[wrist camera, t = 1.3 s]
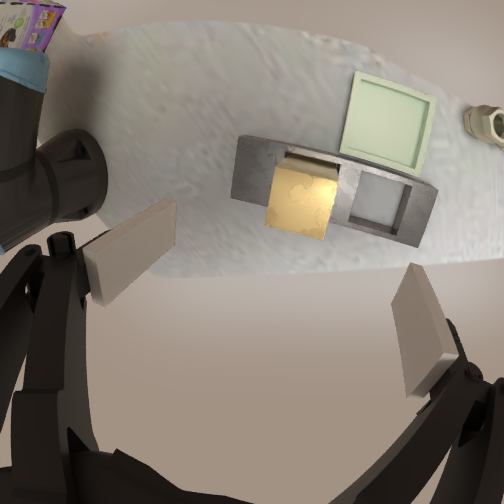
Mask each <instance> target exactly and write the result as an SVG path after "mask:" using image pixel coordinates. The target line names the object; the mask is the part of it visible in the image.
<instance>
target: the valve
mask: <svg viewBox="0 0 504 504" xmlns="http://www.w3.org/2000/svg"><path fill="white" fill-rule="evenodd" d="M463 120H464V126H465V131H466V132H468V133H469V134H471V135H472V136H474V137H475V138H476V139H480V140H481V141H483V142H485V143H489V144H493V143H497V146H498V147H499V148H500V149H501V150H502V151H504V110H503V109H501V108H500V107H490V106H488V105H481V106H478V107H472V108H470V109H469V110H468V111H466V112H465V113H464V114H463Z"/></svg>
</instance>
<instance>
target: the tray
mask: <svg viewBox="0 0 504 504" xmlns="http://www.w3.org/2000/svg"><path fill="white" fill-rule="evenodd" d="M436 101H437V99H436V98H434V97H431V96H429V95H426V94H424V93H422V92H419V91H416V90H414V89H411V88H409V87H406V86H403V85H400V84H397V83H394V82H392V81H389V80H385V79H382V78H379V77H376V76H372V75H369V74H366V73H362V72H358V71H355V73H354V77H353V82H352V88H351V94H350V99H349V104H348V109H347V115H346V120H345V125H344V129H343V134H342V139H341V144H340V148H339V152H340V153H343V154H347V155H351V156H354V157H358V158H361V159H365V160H368V161H371V162H374V163H378V164H381V165H384V166H387V167H390V168H393V169H396V170H399V171H402V172H405V173H408V174H411V175H413V176H416V177H419V176H420V172H421V169H422V165H423V161H424V157H425V153H426V149H427V145H428V141H429V137H430V132H431V127H432V123H433V118H434V112H435V107H436Z"/></svg>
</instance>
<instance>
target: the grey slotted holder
mask: <svg viewBox="0 0 504 504" xmlns="http://www.w3.org/2000/svg"><path fill="white" fill-rule="evenodd" d="M288 152H293V153H297V154H302V155H306V156H310V157H315V158H319V159H323V160H327V161H331V162H334V163H338V164H340V165H339V169H338V173H337V174H338V181H339V183H338V187H337V191H336V195H335V199H334V203H333V206H332V210H331V214H330V218H329V221H328V222H330V223H334V224H338V225H341V226H345V227H349V228H352V229H356V230H359V231H363V232H366V233H370V234H373V235H377V236H380V237H383V238H387V239H390V240H393V241H397V242H400V243H403V244H406V245H410V246H413V247H416V248H418V246H419V244H420V241H421V239H422V236H423V234H424V231H425V228H426V226H427V223H428V220H429V217H430V215H431V212H432V209H433V206H434V203H435V200H436V197H437V194H438V190H437V189H436V188H435V187H433V186H432V185H430V184H427V183H425V182H422V181H419V180H417V179H414V178H411V177H408V176H405V175H403V174H400V173H397V172H394V171H391V170H388V169H384V168H381V167H378V166H375V165H372V164H368V163H365V162H362V161H358V160H355V159H351V158H348V157H344V156H340V155H336V154H333V153H329V152H325V151H321V150H317V149H312V148H308V147H304V146H299V145H295V144H290V143H285V142H280V141H275V140H270V139H265V138H259V137H253V136H247V135H244V136H239V138H238V145H237V152H236V159H235V167H234V174H233V181H232V189H231V196H230V198H232V199H237V200H241V201H246V202H250V203H254V204H259V205H263V206H267V207H268V204H269V198H270V193H271V187H272V182H273V176H274V171H275V167H276V166H277V165H278V164H279V163H280V162H282V161H283V160H284V159H285V158H286V157H287V156H288ZM362 170H363V171H367V172H370V173H373V174H376V175H380V176H383V177H386V178H389V179H392V180H395V181H398V182H401V183H404V184H406V186H405V189H404V193H403V196H402V199H401V203H400V206H399V209H398V212H397V215H396V218H395V221H394V224H393V227H392V228H391V227H388V226H385V225H382V224H378V223H375V222H371V221H368V220H365V219H361V218H358V217H354V216H351V215H350V212H351V209H352V205H353V202H354V198H355V194H356V191H357V187H358V183H359V179H360V175H361V172H362Z"/></svg>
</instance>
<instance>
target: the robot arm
mask: <svg viewBox="0 0 504 504" xmlns="http://www.w3.org/2000/svg"><path fill="white" fill-rule="evenodd" d="M49 67H50V60H49V57H48V56H47V55H46V54H45V53H43V52H39V51H33V50H26V49H17V48H7V47H0V255H4V254H5V253H6V252H7V251H9V250H10V249H12V248H13V247H15V246H16V245H18V244H19V243H21V242H23V241H24V240H26V239H27V238H29V237H31V236H32V235H34V234H36V233H37V232H39V231H41V230H42V229H44V228H45V227H47V226H49V225H51V224H53V223H60V222H69V221H79V220H83V219H85V218H87V217H89V216H91V215H93V214H94V213H96V212H97V211H98V210H99V208H100V207H101V205H102V204H103V201H104V199H105V196H106V191H107V169H106V163H105V159H104V156H103V153H102V151H101V149H100V147H99V145H98V143H97V142H96V141H95V139H94V138H93V137H92V136H91V135H90V134H89V133H87V132H85V131H83V130H80V129H73V130H68V131H64V132H61V133H59V134H57V135H56V136H54V137H53V138H51V139H50V140H48V141H47V142H46V143H44V144H43V145H41V146H40V147H39V148H37V149H36V146H37V136H38V128H39V121H40V115H41V109H42V103H43V98H44V93H46V91H47V89H46V83H47V77H48V72H49ZM176 204H177V201H172V200H168V199H164V200H162V201H161V202H159V203H157V204H155V205H153V206H152V207H150V208H148V209H146V210H144V211H143V212H141V213H139V214H137V215H136V216H134V217H132V218H131V219H129V220H127V221H125V222H124V223H122V224H120V225H119V226H117V227H115V228H114V229H111V230H108V231H105V232H104V233H102V234H100V235H99V236H98V237H95V238H93V240H90V241H89V242H87V243H86V244H84V245H82V246H81V247H79V248H78V249H76V247H75V240H74V234H73V233H71V232H68V231H62V232H57V233H54V234H52V235H51V236H49V237H48V238H47V245H48V250H49V254H50V256H46V255H42V250H41V246H39V245H36V244H33V245H32V244H30V245H26V246H25V247H23V248H22V249H21V250H19V251H18V253H17V254H16V255H15V256H14V257H13V259H12V260H11V261H10V262H9V263H8V265H7V266H6V267H5V269H4V270H3V271H2V273H1V274H0V433H1V430H2V427H3V424H4V420H5V417H6V413H7V410H8V406H9V402H10V399H11V396H12V393H13V390H14V387H15V384H16V381H17V378H18V375H19V372H20V370H21V367H22V364H23V361H24V359H25V356H26V354H27V357H26V365H25V373H24V382H23V389H22V390H21V391H15V392H14V394H13V398H12V408H11V459H12V466H10V467H2V468H0V504H253V503H249V502H245V501H241V500H238V499H234V498H230V497H227V496H222V495H212V494H203V493H197V492H190V491H184V490H181V489H179V488H178V487H176V486H175V485H173V484H172V483H171V482H169V481H168V480H166V479H165V478H164V477H163V476H161V475H160V474H159V473H157V472H156V471H155V470H153V469H152V468H151V467H150V466H148V465H146V464H144V463H142V462H140V461H138V460H137V459H135V458H133V457H131V456H129V455H127V454H125V453H124V452H122V451H120V450H118V449H116V450H115V451H114V453H113V454H112V453H107V452H101V451H99V448H98V445H97V442H96V440H95V437H94V434H93V431H92V424H91V417H90V409H89V398H88V386H87V372H86V371H87V370H86V307H87V301H86V297H85V296H86V295H87V294H88V293H89V292H90V291H91V296H92V300H93V302H94V303H96V304H98V305H100V306H102V307H106V306H107V305H108V304H109V303H111V302H112V301H113V300H114V299H115V298H116V297H117V296H118V295H119V294H120V293H121V292H122V291H123V290H125V288H127V287H128V286H129V285H130V284H131V283H132V282H133V281H134V280H135V279H137V278H138V277H139V276H140V275H141V274H142V273H143V272H144V271H145V270H147V269H148V268H149V267H150V266H151V265H152V264H153V263H154V262H156V261H157V260H158V259H159V258H160V257H161V256H162V255H164V254H165V253H166V252H167V251H168V250H169V249H171V248H172V247H173V246H174V245H175V227H176ZM26 286H27V290H28V292H27V293H25V287H26ZM391 305H392V310H393V315H394V320H395V325H396V331H397V336H398V342H399V348H400V353H401V360H402V367H403V374H404V382H405V391H406V399H412V400H422V399H423V398H424V397H425V396H426V395H427V394H428V392H429V393H430V400H429V401H428V402H427V403H426V405H424V407H423V408H422V409H421V410H420V411H418V413H417V416H416V417H415V419H414V420H413V422H412V423H411V424H410V425H409V426H408V427H407V429H406V430H405V431H404V432H403V433H402V434H401V436H400V437H399V438H398V439H397V440H396V441H395V443H394V444H392V446H391V447H390V448H389V449H388V450H387V451H386V452H385V453H384V454H383V455H382V456H381V457H380V458H379V459H378V460H377V461H376V462H375V463H374V464H373V466H371V467H370V468H369V469H368V470H367V471H366V472H365V473H364V474H363V475H362V476H361V477H360V478H358V479H357V480H356V481H355V482H354V483H353V484H352V485H351V486H350V487H348V488H347V489H346V490H345V491H344V492H342V493H341V494H340V495H339V496H337V497H336V498H335V499H334V500H332V501H331V502H330V503H329V504H411V502H412V501H413V500H414V499H415V498H416V496H417V495H418V494H419V493H420V491H421V490H422V489H423V487H424V486H425V485H426V483H427V482H428V481H429V479H430V478H431V476H432V475H433V474H434V472H435V471H436V469H437V468H438V466H439V465H440V463H441V462H442V460H443V459H444V457H445V455H446V454H447V452H448V450H449V449H450V447H451V446H452V447H451V450H450V453H449V457H448V459H447V462H446V465H445V468H444V471H443V473H442V476H441V479H440V481H439V483H438V486H437V488H436V491H435V493H434V495H433V498H432V500H431V502H430V504H501V501H502V498H503V494H504V378H503V377H502V378H498V379H497V380H496V382H495V383H494V384H493V385H492V384H490V383H488V382H486V381H484V380H483V375H482V372H481V371H480V369H479V368H478V367H477V366H476V365H475V364H473V363H471V362H468V360H467V357H466V355H465V352H464V349H463V346H462V344H461V343H460V339H459V337H458V333H457V331H456V328H455V326H454V325H453V324H452V322H451V321H450V320H449V319H447V318H445V316H444V313H443V311H442V309H441V306H440V304H439V302H438V299H437V297H436V295H435V292H434V290H433V288H432V286H431V284H430V282H429V279H428V277H427V275H426V273H425V271H424V269H423V267H422V266H420V265H417V264H414V263H411V262H410V264H409V266H408V269H407V271H406V273H405V275H404V278H403V280H402V282H401V284H400V286H399V288H398V291H397V293H396V295H395V297H394V299H393V301H392V303H391Z"/></svg>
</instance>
